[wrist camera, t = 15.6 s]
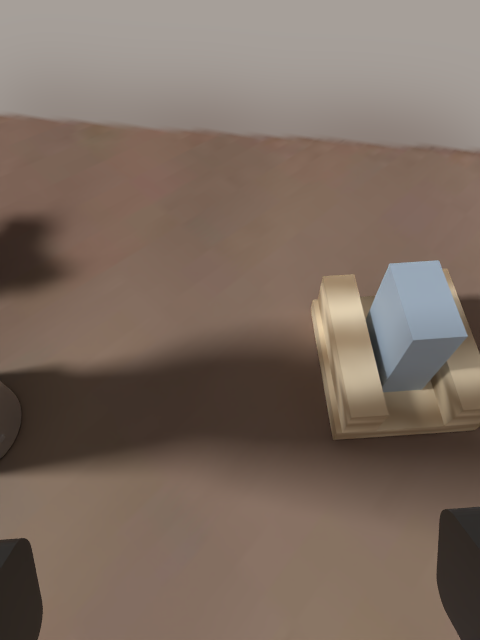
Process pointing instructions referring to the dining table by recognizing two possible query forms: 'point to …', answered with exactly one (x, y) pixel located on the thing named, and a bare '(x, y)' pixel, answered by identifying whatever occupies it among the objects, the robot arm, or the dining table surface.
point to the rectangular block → (413, 325)
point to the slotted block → (364, 382)
